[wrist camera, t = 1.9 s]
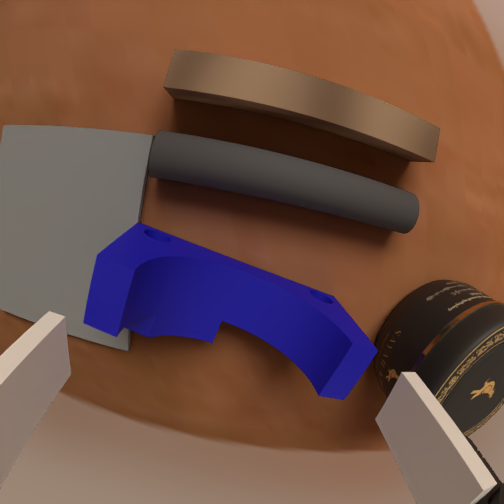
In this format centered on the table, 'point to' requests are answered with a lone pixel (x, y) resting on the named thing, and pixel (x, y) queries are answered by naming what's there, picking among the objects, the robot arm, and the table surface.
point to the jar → (447, 349)
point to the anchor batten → (300, 102)
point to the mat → (65, 216)
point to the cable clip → (223, 305)
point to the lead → (281, 179)
